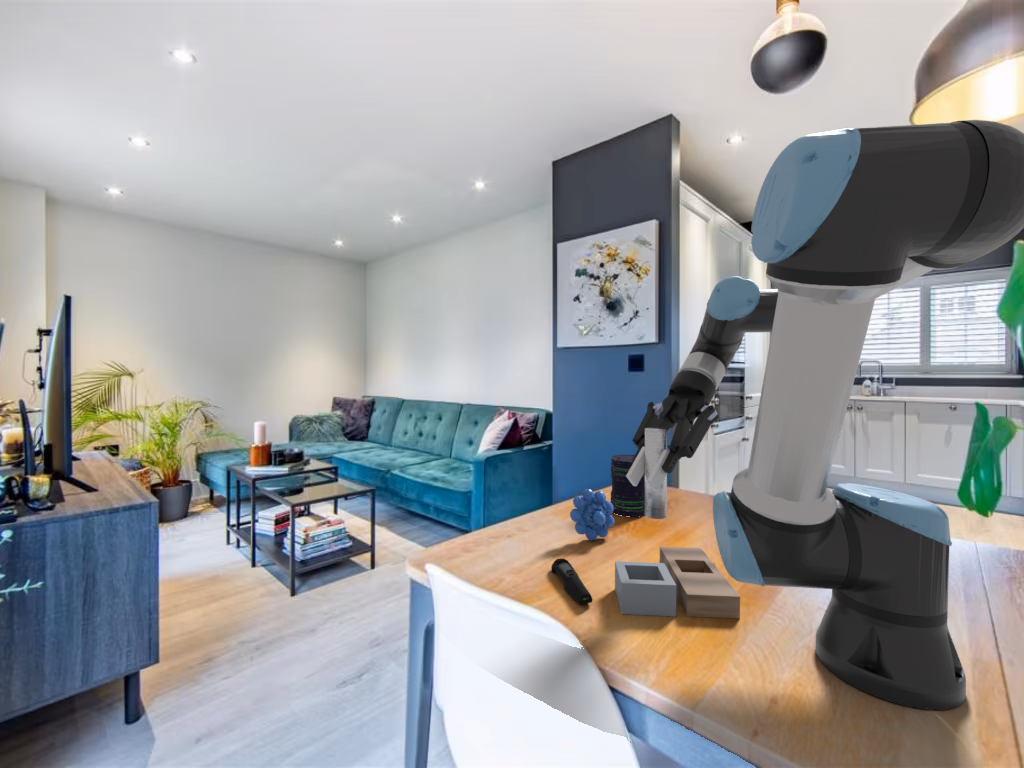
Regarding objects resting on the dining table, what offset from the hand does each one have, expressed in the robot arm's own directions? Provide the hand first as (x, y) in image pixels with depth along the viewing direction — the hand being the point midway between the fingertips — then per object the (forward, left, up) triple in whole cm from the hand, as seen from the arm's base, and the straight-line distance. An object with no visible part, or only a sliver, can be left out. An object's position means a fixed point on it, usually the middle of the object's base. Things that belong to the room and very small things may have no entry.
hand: (641, 483), depth 78 cm
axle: (+3, -3, -6) cm, 7 cm away
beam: (+6, -10, -20) cm, 23 cm away
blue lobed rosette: (+27, +6, -20) cm, 34 cm away
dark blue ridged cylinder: (+50, -5, -20) cm, 54 cm away
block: (0, 0, -20) cm, 20 cm away
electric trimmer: (+5, +11, -21) cm, 24 cm away
